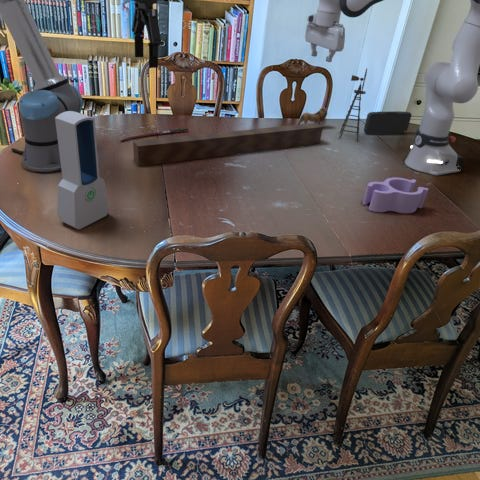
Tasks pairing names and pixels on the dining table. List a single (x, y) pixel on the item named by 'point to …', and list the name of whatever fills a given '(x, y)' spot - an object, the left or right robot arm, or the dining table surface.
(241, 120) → the dining table surface
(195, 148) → the post
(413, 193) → the clip
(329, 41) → the right robot arm
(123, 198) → the dining table surface
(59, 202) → the electronic device
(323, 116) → the lion figurine
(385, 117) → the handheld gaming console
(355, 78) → the miniature windmill
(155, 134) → the sword
